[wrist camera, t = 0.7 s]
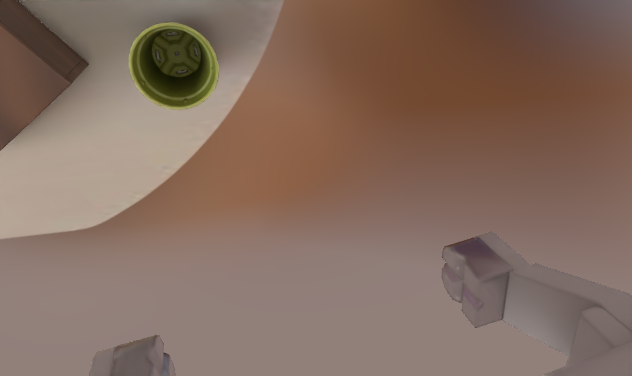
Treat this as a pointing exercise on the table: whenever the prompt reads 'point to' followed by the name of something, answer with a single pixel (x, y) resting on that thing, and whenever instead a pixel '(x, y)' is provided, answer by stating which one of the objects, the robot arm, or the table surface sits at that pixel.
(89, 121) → the table surface
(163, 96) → the plant pot
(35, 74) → the cabinet
